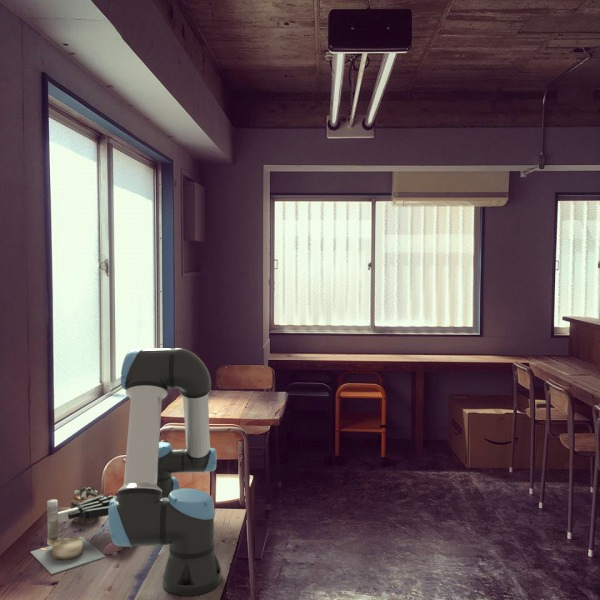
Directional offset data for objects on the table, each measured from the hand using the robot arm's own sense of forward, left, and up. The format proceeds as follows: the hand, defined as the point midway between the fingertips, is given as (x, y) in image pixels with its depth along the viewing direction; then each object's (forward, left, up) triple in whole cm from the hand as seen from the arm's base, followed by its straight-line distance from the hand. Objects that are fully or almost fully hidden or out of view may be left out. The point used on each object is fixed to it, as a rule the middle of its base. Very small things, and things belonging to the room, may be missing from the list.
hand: (55, 518), depth 179 cm
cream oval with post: (-6, 0, -8) cm, 10 cm away
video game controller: (-14, -14, -9) cm, 21 cm away
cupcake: (+13, -14, -9) cm, 21 cm away
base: (-8, 0, -8) cm, 11 cm away
